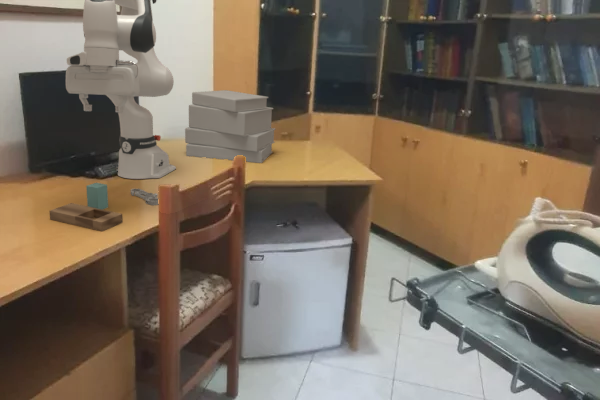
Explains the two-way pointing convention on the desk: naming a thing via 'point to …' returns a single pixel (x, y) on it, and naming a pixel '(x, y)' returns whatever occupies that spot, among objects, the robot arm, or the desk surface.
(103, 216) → the brown frame
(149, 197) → the bracket
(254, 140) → the book stack
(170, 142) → the desk surface
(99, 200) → the teal square prism
